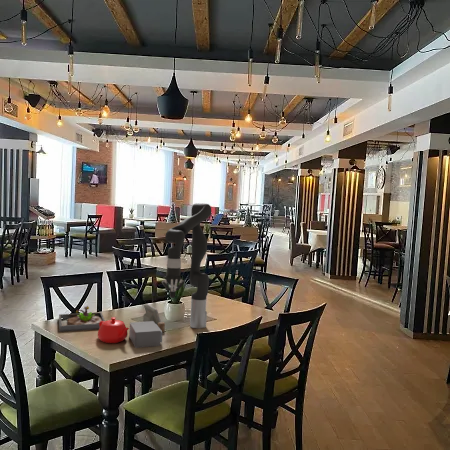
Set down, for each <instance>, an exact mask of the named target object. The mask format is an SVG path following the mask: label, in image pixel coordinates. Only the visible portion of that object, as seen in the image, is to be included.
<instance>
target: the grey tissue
mask: <svg viewBox="0 0 450 450" xmlns="http://www.w3.org/2000/svg"><path fill="white" fill-rule="evenodd" d="M143 308H144V311H145V312H144V313H143V315H142V316H143V317H142V322H146V321H154V323H155V324H157V326H158V323H159V322H162V321H161V318H160V315H159V312H158V309H157V308H156V307H154V306H152V305H150V304H148V303H145V304H143Z"/></svg>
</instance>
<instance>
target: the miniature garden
mask: <svg viewBox="0 0 450 450" xmlns="http://www.w3.org/2000/svg"><path fill="white" fill-rule="evenodd" d="M89 309H90V307H89V306H88V305H87V306H84V307H83V310H82V309H76V311H75V314H78V313H80V315H81V316H80V315H77V317H73V318H70V319H66V323H67V324H66V325H82V324H99V322H100V321H102V319H101V318H100V317H99V316H94V315H95V314H94V315H91V314H92V313H93V312H91V311H90V312H88V310H89ZM84 310H85V311H84Z"/></svg>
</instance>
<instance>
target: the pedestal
mask: <svg viewBox="0 0 450 450" xmlns="http://www.w3.org/2000/svg"><path fill="white" fill-rule="evenodd" d="M165 325H166V323H165V322H164V321H161V322H159V323H158V325H157V326H158V327H159V328H160V330H161V331H162V334H163V333H165V328H166V327H165Z"/></svg>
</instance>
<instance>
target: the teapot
mask: <svg viewBox="0 0 450 450" xmlns="http://www.w3.org/2000/svg"><path fill="white" fill-rule="evenodd" d="M99 326H100V328H99V329H98V330H97V337H98V339H99V340H100V341H101V342H103V343H106V344H116V343H117V344H119V343H121V342H122V341H123V342H124V340H126V339H127V337H128V335H129V333H128V330H130V327H127V326H126V324H125V322H124V321H122V320H119V319H117V317H115V316H111V317H110V319H108V320H105V321H100V322H99Z"/></svg>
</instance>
